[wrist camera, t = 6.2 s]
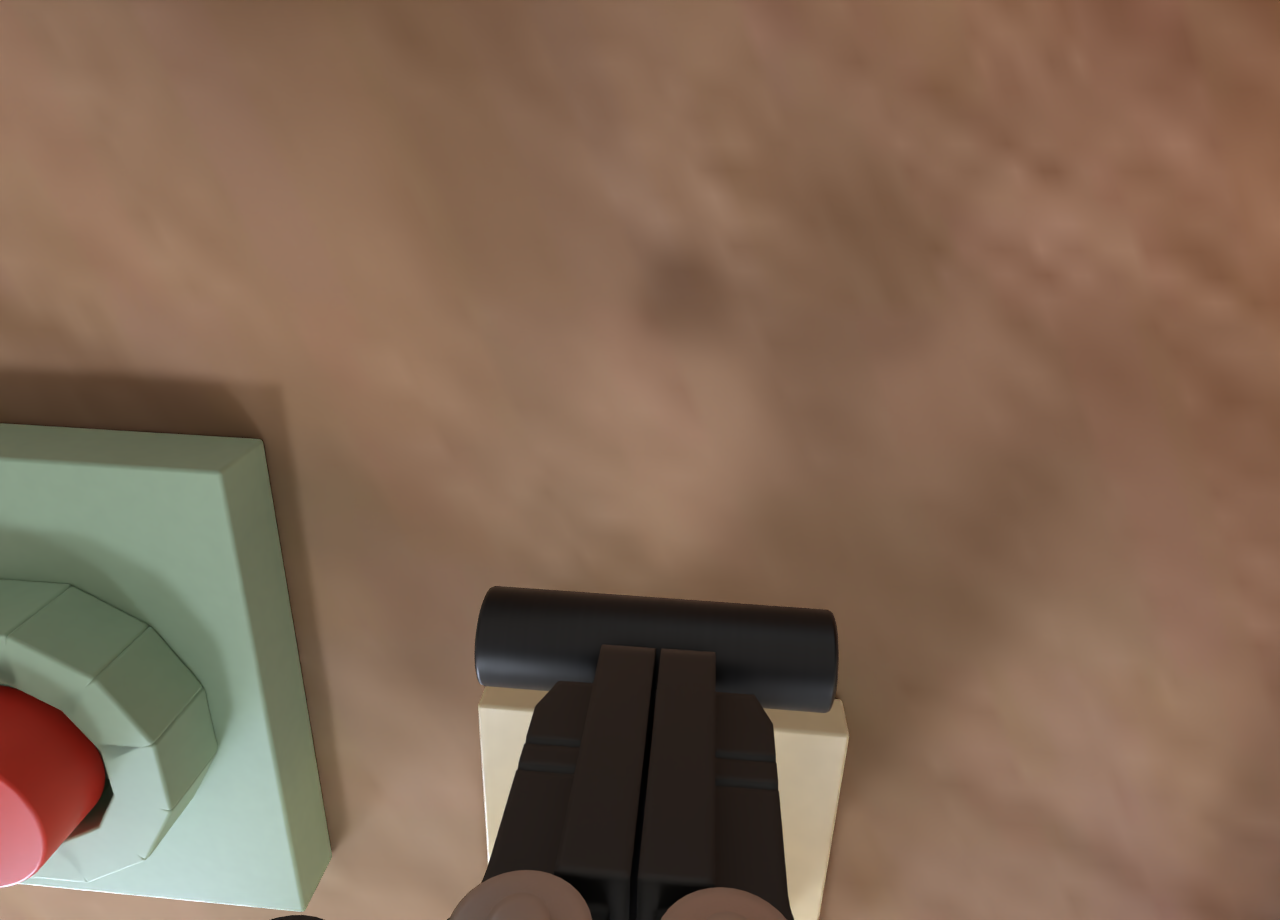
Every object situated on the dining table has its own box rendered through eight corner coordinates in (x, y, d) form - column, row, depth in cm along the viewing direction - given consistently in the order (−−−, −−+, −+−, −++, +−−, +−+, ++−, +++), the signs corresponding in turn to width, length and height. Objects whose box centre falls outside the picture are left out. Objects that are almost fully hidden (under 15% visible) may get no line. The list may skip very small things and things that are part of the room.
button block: (-143, 412, 18) (-329, 482, 15) (264, 437, 17) (162, 515, 14) (11, 826, 23) (-103, 945, 20) (333, 856, 22) (269, 984, 19)
